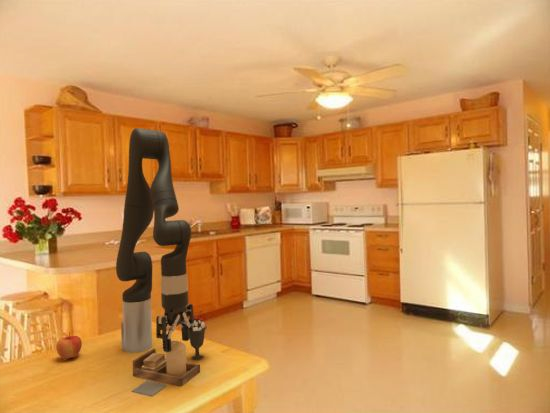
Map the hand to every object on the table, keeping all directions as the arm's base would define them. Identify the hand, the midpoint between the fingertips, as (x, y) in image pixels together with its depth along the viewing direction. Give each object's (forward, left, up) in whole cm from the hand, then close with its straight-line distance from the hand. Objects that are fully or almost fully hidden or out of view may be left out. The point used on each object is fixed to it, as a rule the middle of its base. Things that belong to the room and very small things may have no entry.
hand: (176, 345), depth 110 cm
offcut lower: (-8, 0, -9) cm, 12 cm away
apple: (-42, -1, -10) cm, 43 cm away
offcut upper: (-8, 0, -7) cm, 11 cm away
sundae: (-2, +13, -10) cm, 16 cm away
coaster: (-3, -8, -9) cm, 13 cm away
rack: (-4, 0, -9) cm, 10 cm away
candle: (0, 0, -9) cm, 9 cm away
